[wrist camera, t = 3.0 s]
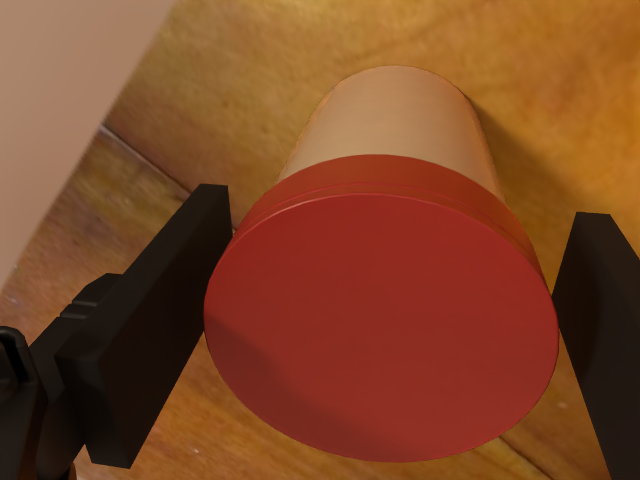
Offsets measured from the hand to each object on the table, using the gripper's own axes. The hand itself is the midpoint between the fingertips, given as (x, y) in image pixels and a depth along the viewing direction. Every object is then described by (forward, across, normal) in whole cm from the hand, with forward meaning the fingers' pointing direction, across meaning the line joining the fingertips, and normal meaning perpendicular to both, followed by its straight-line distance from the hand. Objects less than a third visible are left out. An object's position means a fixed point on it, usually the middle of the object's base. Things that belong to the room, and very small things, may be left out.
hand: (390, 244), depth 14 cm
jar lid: (-4, 0, 0) cm, 4 cm away
